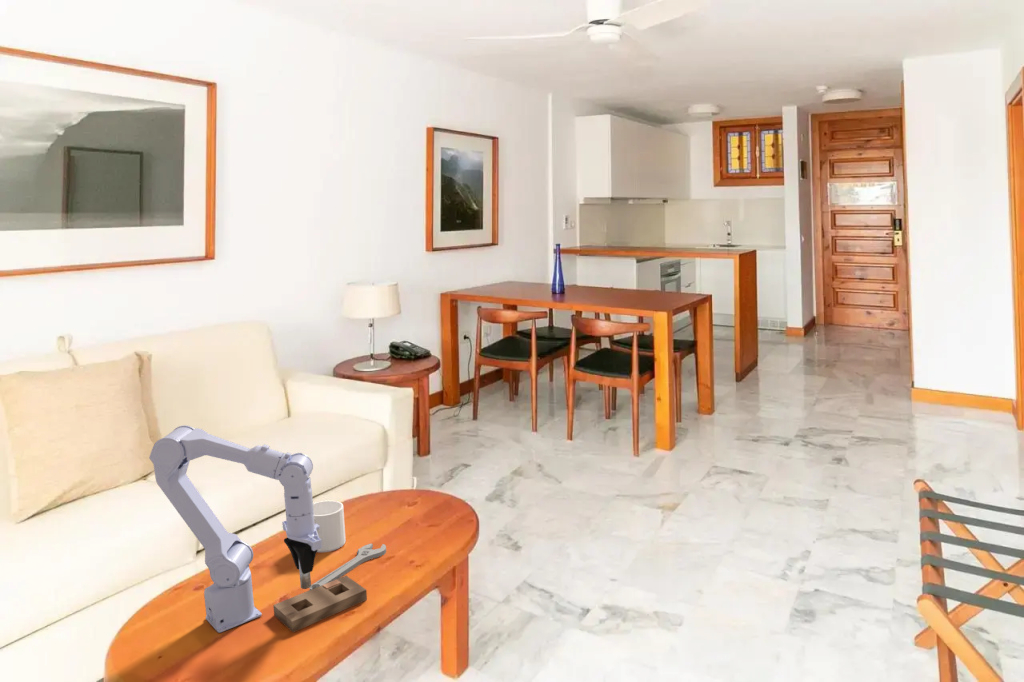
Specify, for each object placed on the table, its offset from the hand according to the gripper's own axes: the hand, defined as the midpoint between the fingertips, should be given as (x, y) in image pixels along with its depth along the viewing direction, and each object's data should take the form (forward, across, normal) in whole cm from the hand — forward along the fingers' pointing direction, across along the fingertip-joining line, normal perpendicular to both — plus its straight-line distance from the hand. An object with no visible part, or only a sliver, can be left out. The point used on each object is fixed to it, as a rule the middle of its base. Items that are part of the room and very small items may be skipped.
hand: (304, 569), depth 152 cm
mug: (+11, +27, -18) cm, 34 cm away
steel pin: (+4, 0, 0) cm, 4 cm away
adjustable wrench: (+11, +12, -17) cm, 23 cm away
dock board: (+10, 0, -3) cm, 11 cm away
